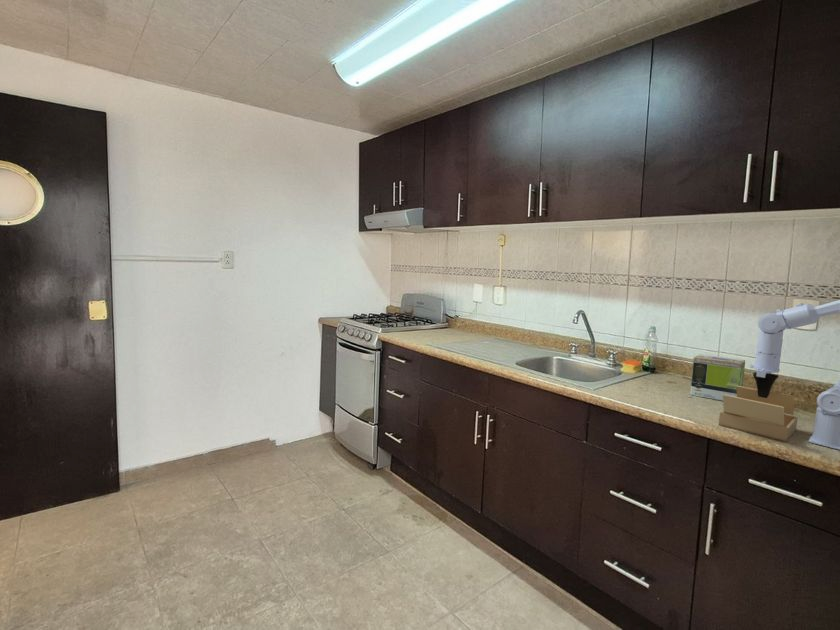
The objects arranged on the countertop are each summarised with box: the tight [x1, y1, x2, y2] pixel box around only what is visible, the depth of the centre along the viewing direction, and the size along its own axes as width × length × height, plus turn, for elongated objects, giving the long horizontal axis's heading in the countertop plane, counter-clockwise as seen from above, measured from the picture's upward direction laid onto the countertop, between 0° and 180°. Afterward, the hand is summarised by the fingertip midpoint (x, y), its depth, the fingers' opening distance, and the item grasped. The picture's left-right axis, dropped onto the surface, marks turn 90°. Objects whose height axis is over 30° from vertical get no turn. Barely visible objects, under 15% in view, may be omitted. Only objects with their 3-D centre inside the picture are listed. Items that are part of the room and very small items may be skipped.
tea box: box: [690, 354, 746, 402], centre depth 163 cm, size 15×10×15 cm, turn 48°
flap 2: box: [737, 386, 795, 416], centre depth 135 cm, size 14×7×1 cm
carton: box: [718, 409, 799, 443], centre depth 132 cm, size 16×15×4 cm
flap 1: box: [722, 394, 785, 426], centre depth 125 cm, size 14×7×1 cm
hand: (762, 397), depth 133 cm, fingers closed
